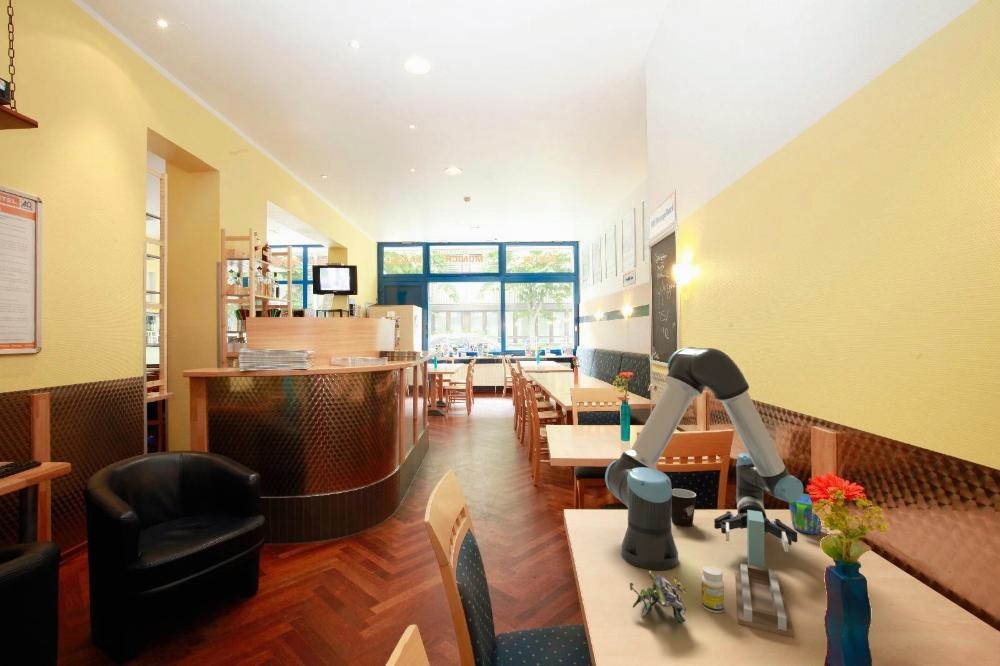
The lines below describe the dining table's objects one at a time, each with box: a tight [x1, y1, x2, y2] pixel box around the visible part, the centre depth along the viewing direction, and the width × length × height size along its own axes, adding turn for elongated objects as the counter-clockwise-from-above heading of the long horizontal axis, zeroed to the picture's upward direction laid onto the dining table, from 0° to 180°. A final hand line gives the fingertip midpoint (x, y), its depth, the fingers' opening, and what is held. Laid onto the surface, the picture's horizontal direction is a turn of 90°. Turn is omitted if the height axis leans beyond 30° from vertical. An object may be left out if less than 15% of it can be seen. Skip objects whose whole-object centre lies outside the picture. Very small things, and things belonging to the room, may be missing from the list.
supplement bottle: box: [701, 565, 725, 614], centre depth 103 cm, size 5×5×8 cm
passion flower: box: [629, 570, 688, 625], centre depth 99 cm, size 11×11×12 cm
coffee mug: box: [671, 488, 697, 528], centre depth 151 cm, size 12×9×10 cm
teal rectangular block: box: [746, 510, 765, 568], centre depth 121 cm, size 8×4×14 cm, turn 154°
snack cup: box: [788, 493, 823, 535], centre depth 146 cm, size 16×10×10 cm
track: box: [735, 563, 794, 638], centre depth 105 cm, size 22×10×4 cm, turn 154°
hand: (756, 541), depth 118 cm, fingers open, 13 cm apart
